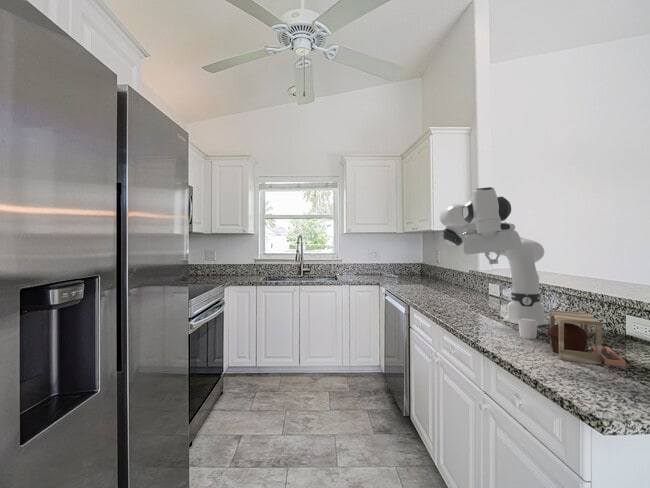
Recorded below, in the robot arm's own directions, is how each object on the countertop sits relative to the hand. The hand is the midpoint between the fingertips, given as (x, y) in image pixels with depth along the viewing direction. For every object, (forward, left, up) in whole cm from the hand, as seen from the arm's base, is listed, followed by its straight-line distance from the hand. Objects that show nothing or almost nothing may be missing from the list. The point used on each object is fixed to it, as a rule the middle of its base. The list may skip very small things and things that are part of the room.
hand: (493, 264), depth 133 cm
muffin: (+5, +22, -30) cm, 38 cm away
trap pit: (+6, +33, -30) cm, 45 cm away
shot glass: (-13, +13, -30) cm, 35 cm away
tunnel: (+6, +24, -30) cm, 39 cm away
